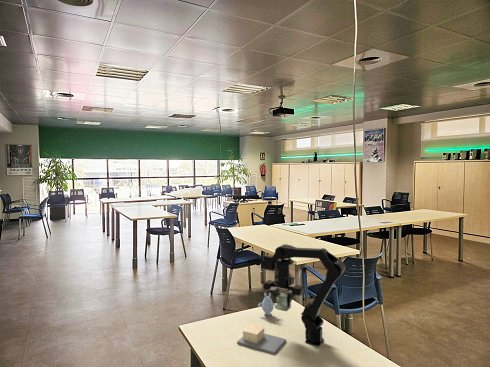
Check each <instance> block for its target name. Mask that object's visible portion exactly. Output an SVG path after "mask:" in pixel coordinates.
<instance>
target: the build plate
mask: <svg viewBox="0 0 490 367" xmlns="http://www.w3.org/2000/svg"><path fill="white" fill-rule="evenodd" d="M286 342H287V338H284V337H279V336H276V335H271V334H268V333H265V328H264V327H261V326H258V325H254V324H250V325H248V326H247V327H246V328H244V329H243V330H242V337H240V339H238V340H237V344H238V345H240V346H244V347H248V348H251V349H255V350H258V351H261V352H266V353H268V354H272V355H275V354H276V353H277V352H278V351H279V350H280V349H281V348H282V347H283V346H284V345H285V343H286ZM237 344H236V345H237Z"/></svg>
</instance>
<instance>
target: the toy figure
mask: <svg viewBox="0 0 490 367" xmlns="http://www.w3.org/2000/svg"><path fill="white" fill-rule="evenodd" d="M263 296H264V298H263V300H262V302H259V303H258V305H257V307H258V308H261V309H262V311H263V312H264V313H263V315H264V316H269V317H270V316H272V312H273V310H274V309H276V304H275V303H274V302H273V299H272V298H271V297H272V293H271V292H269V293H268V295H267V293H266V292H264V293H263Z"/></svg>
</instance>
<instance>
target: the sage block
mask: <svg viewBox="0 0 490 367" xmlns="http://www.w3.org/2000/svg"><path fill="white" fill-rule="evenodd" d="M287 294H288V293H283V292H279V295H278V296H276V301H275V303H276V304H275V305H276V308H275V309H276V310H278V311H283V312H288V311H289V310H290V309H291V307H292V304H290V307H288V301H287Z"/></svg>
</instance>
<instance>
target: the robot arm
mask: <svg viewBox="0 0 490 367" xmlns="http://www.w3.org/2000/svg"><path fill="white" fill-rule="evenodd" d="M292 258H302V259H303V258H304V259H305V258H306V259H319V261H320V262H321V264H322V266H324V267H323V268H325V269H326V270H327V271H326V273H325V279H324V281H323V282H322V285H321V287H320V288H319V290H318V292H317V294H316V295H315V297H314V299H313V301H312V302H307V304H306V305H305V306H304V309H303V311H302V312H301V313H300V315H301V317H300V318H301V322H302V323H303V326H304V328H305V331H304V332H305V333H304V334H305V338H304V339H305V341H304V342H305V343H306V344H310V345H313V346H319V347H320V346H321V344H322V343H323V341H324V339H325V338H324V337H323V327H322V326H323V324H324V321H325V320H323V318H322V317H321V316H320V313H321V308H322V305H323V304H324V302H325V300H326V299H327V297H328V295H329V294H330V291H331V290H332V288H333V286H334V284H335V283H336V282H337V280H338V279H339V278H340V277H341V276H342V274H343V273H344V272H345V271H346V265H345V263H344V262H343V260H340V259H339V258H338V257H336V255H333V254H332V253H330V252H329V251H328V250H327V249H326V248H324V247H322V248H314V247H313V248H309V247H295V246H293V245H291V244H282V245H280V246H278V247H276V248H275V250H274V254H273V255H267V254H265V255H263V256H262V259H261V263H260V268H261V270H263V271H270V272H274V271H276V275H275V279H276V281H277V283H276V281H275V280H271V279H268V280H266V281H265V282H263V284H262V288H263V290H268V291H269V293H271V296H272V297H273V298H274V301H275V302H276V296H278V295H279V294H280V290H282V291H283V290H285V291H288V293H286V294H287V301H288V307H290V304H291V303H292V302H293V298H294V296H298V297H300V296H302V295H303V294H304V293H305V291H306V289H305V287H304V285H299V284H295V277H294V276H292V273H290V266H291V265H293V264H294V263H295V262H294V260H293V259H292ZM293 284H295V285H294V286H292V285H293ZM291 305H292V304H291Z"/></svg>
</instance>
